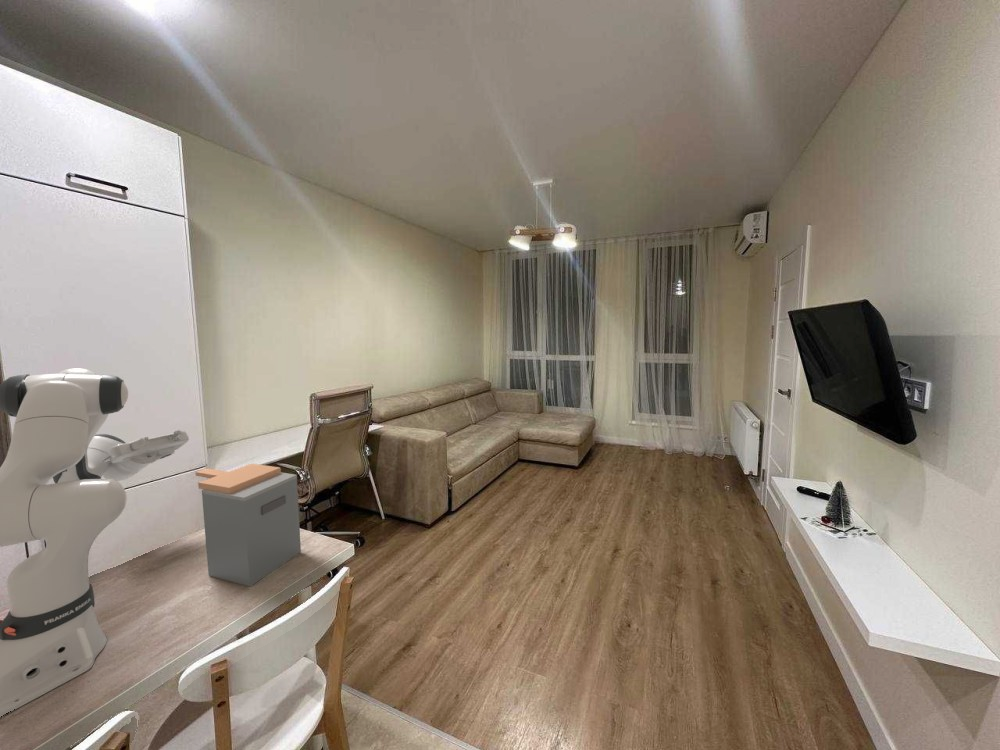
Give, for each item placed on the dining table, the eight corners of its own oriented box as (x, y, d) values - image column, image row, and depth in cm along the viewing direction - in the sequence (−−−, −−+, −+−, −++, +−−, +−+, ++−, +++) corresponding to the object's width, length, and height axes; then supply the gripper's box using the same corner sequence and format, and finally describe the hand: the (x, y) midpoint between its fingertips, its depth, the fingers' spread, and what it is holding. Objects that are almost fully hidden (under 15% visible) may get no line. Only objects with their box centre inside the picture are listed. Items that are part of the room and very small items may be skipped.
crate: (251, 586, 108) (245, 497, 105) (208, 575, 113) (201, 490, 110) (301, 552, 125) (297, 474, 122) (262, 543, 130) (258, 469, 127)
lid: (229, 494, 107) (229, 487, 107) (171, 483, 114) (171, 477, 114) (280, 473, 124) (280, 467, 123) (227, 465, 130) (227, 460, 130)
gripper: (95, 453, 118) (119, 434, 114) (170, 437, 137) (192, 420, 133) (104, 472, 118) (127, 453, 113) (177, 453, 137) (200, 436, 133)
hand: (163, 435), depth 123 cm, fingers open, 8 cm apart
